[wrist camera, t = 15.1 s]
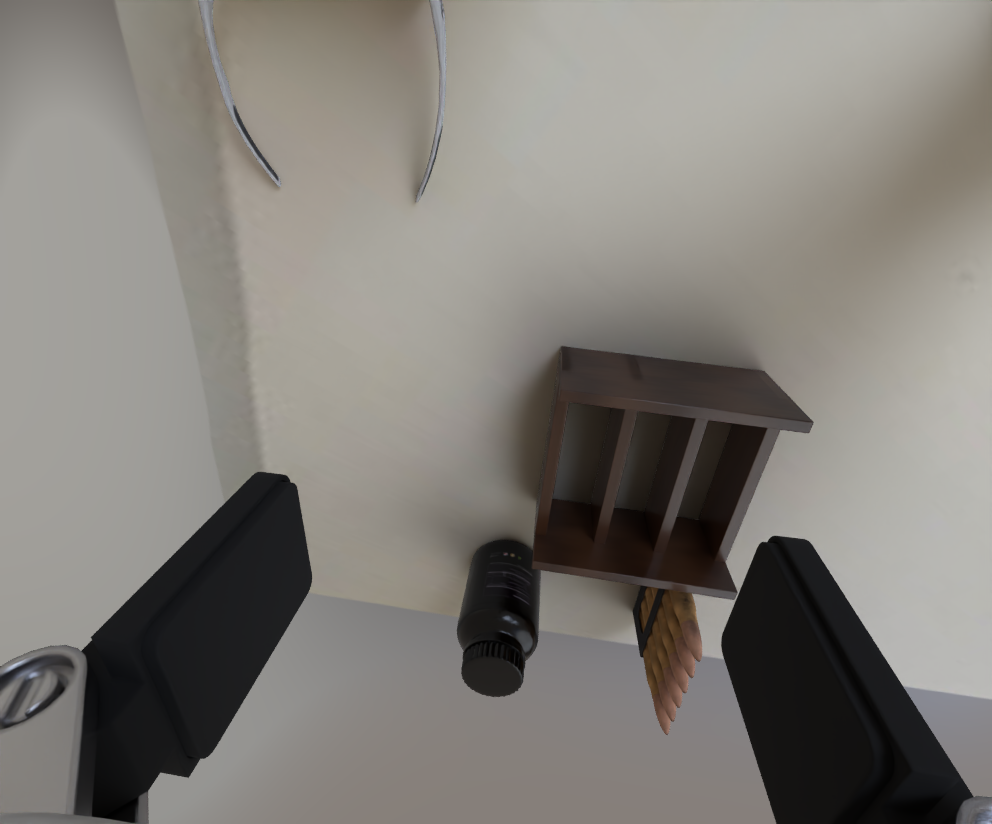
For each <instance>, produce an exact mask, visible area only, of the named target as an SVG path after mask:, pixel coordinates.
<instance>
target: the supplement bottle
mask: <svg viewBox="0 0 992 824" xmlns="http://www.w3.org/2000/svg"><path fill="white" fill-rule="evenodd" d="M532 556H533V552H532V551H531V550H530V549H529V548H527V547H526V546H524V545H523V544H521V543H518V542H515V541H511V540H496V541H492V542H489V543H487V544H485V545H483V546H482V547H480V548H479V549H478V550H477V551H476V553H475V554H474V556H473V559H472V562H471V566H470V570H469V575H468V579H467V584H466V589H465V593H464V598H463V602H462V607H461V612H460V616H459V621H458V627H457V636H458V640H459V643H460V645H461V647H462V649H463V651H464V652H463V664H462V673H461V674H462V677H463V680H464V682H465V683H466V684H467V686H468V687H470V688H471V689H472V690H474V691H476V692H478V693H480V694H482V695H486V696H492V697H500V696H506V695H510V694H512V693H514V692H515V691H518V689H519V688H520V687H521V685H522V683H523V677H524V668H525V661H526V660H527V659H528V658H529V657H530V656H531V655H532V654H533V652H534V651H535V649H536V646H537V643H538V633H539V606H540V580H541V570H538V569H532Z"/></svg>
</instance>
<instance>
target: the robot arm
mask: <svg viewBox="0 0 992 824" xmlns="http://www.w3.org/2000/svg"><path fill="white" fill-rule="evenodd" d="M311 583H312V572H311V566H310V560H309V555H308V549H307V543H306V537H305V531H304V525H303V519H302V514H301V508H300V502H299V496H298V490H297V486H296V485H295V484H294V483H291V482H290V479H289V478H288V476H286V475H282V474H274V473H266V472H257V473H255V474H254V475H253V476H252V477H251V478H250V479H249V480H248V481H247V482H246V483H245V484H244V485H243V486H242V487H241V488H240V489H239V490H238V491H237V492H236V493H235V494H234V495H233V496H232V497H231V498H230V499H229V500H228V501H227V502H226V503H225V504H224V505H223V506H222V507H221V508H220V509H219V510H218V511H217V512H216V513H215V514H214V515H213V516H212V517H211V518H210V519H209V520H208V521H207V522H206V523H205V524H204V525H203V526H202V527H201V528H200V529H199V530H198V531H197V532H196V533H195V534H194V535H193V536H192V537H191V538H190V539H189V540H188V541H187V542H186V543H185V544H184V545H183V546H182V547H181V548H180V549H179V550H178V551H177V552H176V553H175V554H174V555H173V556H172V557H171V558H170V559H169V560H168V561H167V562H166V563H165V564H164V565H163V566H162V567H161V568H160V569H159V570H158V571H157V572H156V573H155V574H154V575H153V576H152V577H151V578H150V579H149V580H148V581H147V582H146V583H145V584H144V585H143V586H142V587H141V588H140V589H139V590H138V591H137V592H136V593H135V594H134V595H133V596H132V597H131V598H130V599H129V600H128V601H127V602H126V603H125V604H124V605H123V606H122V607H121V608H120V609H119V610H118V611H117V612H116V613H115V614H114V615H113V616H112V617H111V618H110V619H109V620H108V621H107V622H106V623H105V624H104V625H103V626H102V627H101V628H100V629H99V630H98V631H97V632H96V633H95V634H94V635H93V636H92V637H91V638H92V641H91V642H90V643H89V644H88V645H87V646H86V647H85V648H84V649H83V650H82V651H80V650H79V649H78V648H74V647H71V646H67V645H60V646H48V647H44V648H41V649H37V650H33V651H30V652H28V653H26V654H23V655H21V656H19V657H16V658H14V659H12V660H10V661H8V662H7V663H5V664H4V665H2V666H0V824H148V790H149V789H150V787H151V786H152V784H153V783H154V781H155V780H156V778H157V777H158V775H159V774H160V772H161V773H166V774H172V775H177V776H182V777H189V776H190V775H191V773H192V772H193V770H194V768H195V766H196V765H197V763H198V762H199V760H200V758H201V759H202V758H203V759H204V758H206V757H208V756H209V755H210V754H211V753H212V752H213V750H214V749H215V747H216V746H217V744H218V742H219V741H220V739H221V737H222V736H223V734H224V733H225V731H226V729H227V728H228V726H229V724H230V723H231V721H232V719H233V718H234V716H235V714H236V713H237V711H238V709H239V708H240V706H241V704H242V703H243V701H244V699H245V698H246V696H247V694H248V693H249V691H250V689H251V688H252V686H253V684H254V683H255V681H256V679H257V677H258V676H259V674H260V673H261V671H262V669H263V667H264V666H265V664H266V662H267V661H268V659H269V657H270V656H271V654H272V652H273V651H274V649H275V647H276V646H277V644H278V642H279V641H280V639H281V637H282V636H283V634H284V632H285V631H286V629H287V627H288V626H289V624H290V622H291V621H292V619H293V617H294V615H295V614H296V612H297V611H298V609H299V607H300V606H301V604H302V602H303V601H304V599H305V597H306V596H307V594H308V592H309V590H310V587H311ZM721 646H722V653H723V656H724V660H725V663H726V666H727V669H728V672H729V675H730V678H731V681H732V685H733V688H734V691H735V694H736V697H737V701H738V703H739V707H740V710H741V713H742V716H743V719H744V722H745V725H746V729H747V732H748V735H749V738H750V741H751V744H752V748H753V751H754V754H755V757H756V760H757V764H758V767H759V770H760V773H761V776H762V779H763V782H764V786H765V789H766V792H767V795H768V798H769V801H770V805H771V808H772V811H773V814H774V817H775V820H776V823H777V824H992V797H983V796H975V797H973V795H972V794H971V792H970V790H969V789H968V787H967V786H966V784H965V783H964V781H963V779H962V778H961V776H960V775H959V773H958V772H957V770H956V768H955V767H954V766H953V764H952V762H951V761H950V759H949V758H948V756H947V754H946V753H945V751H944V750H943V748H942V747H941V745H940V743H939V742H938V740H937V739H936V737H935V736H934V734H933V733H932V731H931V729H930V728H929V726H928V725H927V723H926V722H925V720H924V719H923V717H922V715H921V714H920V712H919V711H918V709H917V708H916V706H915V705H914V703H913V701H912V700H911V698H910V697H909V695H908V694H907V692H906V690H905V689H904V687H903V686H902V684H901V683H900V681H899V680H898V678H897V676H896V675H895V673H894V672H893V670H892V669H891V667H890V665H889V664H888V662H887V661H886V659H885V658H884V656H883V655H882V653H881V651H880V650H879V648H878V647H877V645H876V644H875V642H874V641H873V639H872V637H871V636H870V634H869V633H868V631H867V630H866V628H865V627H864V625H863V624H862V622H861V620H860V619H859V617H858V616H857V614H856V613H855V611H854V609H853V608H852V606H851V605H850V603H849V602H848V600H847V599H846V597H845V595H844V594H843V592H842V591H841V589H840V588H839V586H838V585H837V583H836V581H835V580H834V578H833V577H832V575H831V574H830V572H829V570H828V569H827V567H826V566H825V564H824V563H823V561H822V560H821V558H820V556H819V555H818V553H817V552H816V550H815V549H814V547H813V545H812V544H811V543H810V542H809V541H807V540H805V539H798V538H790V537H781V536H772V537H771V538H770V539H769V540H768V542H761V543H760V544H759V546H758V548H757V550H756V553H755V555H754V558H753V560H752V563H751V565H750V567H749V570H748V572H747V575H746V577H745V580H744V582H743V585H742V587H741V590H740V592H739V595H738V597H737V600H736V602H735V604H734V607H733V609H732V612H731V614H730V617H729V619H728V622H727V624H726V627H725V629H724V632H723V635H722V641H721Z"/></svg>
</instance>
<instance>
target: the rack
mask: <svg viewBox="0 0 992 824" xmlns="http://www.w3.org/2000/svg"><path fill="white" fill-rule="evenodd" d="M569 402H571V403H579V404H587V405H594V406H602V407H610V408H612V409H611V413H610V418H609V422H608V427H607V431H606V436H605V440H604V445H603V449H602V454H601V458H600V463H599V467H598V472H597V476H596V481H595V485H594V490H593V495H592V499H591V504H587V503H580V502H573V501H566V500H559V499H552V497H553V492H554V486H555V480H556V474H557V468H558V463H559V457H560V451H561V445H562V440H563V434H564V428H565V422H566V417H567V411H568V405H569ZM638 411H641V412H648V413H656V414H664V415H671V416H672V417H671V420H670V424H669V427H668V431H667V434H666V438H665V441H664V444H663V448H662V451H661V455H660V458H659V462H658V465H657V469H656V472H655V476H654V479H653V483H652V486H651V489H650V493H649V496H648V500H647V503H646V507H645V510H644V512H642V511H635V510H629V509H622V508H615V507H614V505H615V501H616V497H617V493H618V489H619V485H620V481H621V477H622V473H623V469H624V465H625V461H626V457H627V453H628V449H629V445H630V441H631V437H632V433H633V429H634V425H635V422H636V418H637V414H638ZM708 420H710V421H718V422H725V423H733V425H732V428H731V431H730V433H729V436H728V439H727V442H726V445H725V447H724V450H723V453H722V456H721V458H720V461H719V464H718V467H717V470H716V472H715V475H714V478H713V481H712V484H711V486H710V489H709V492H708V495H707V497H706V500H705V503H704V506H703V509H702V511H701V514H700V517H699V520H698V519H691V518H684V517H677V514H678V511H679V508H680V505H681V502H682V499H683V496H684V493H685V490H686V487H687V484H688V481H689V478H690V475H691V472H692V469H693V466H694V463H695V460H696V456H697V453H698V450H699V447H700V444H701V441H702V438H703V435H704V432H705V429H706V426H707V423H708ZM812 425H813V421H812V420H811V419H810V418H809V417H808V416H807V415H806V414H805V413H804V412H803V411H802V410H801V409H800V408H799V407H798V406H797V404H796V403H795V402H794V401H793V400H792V399H791V398H790V397H789V396H788V395H787V394H786V393H785V392H784V391H783V390H782V389H781V388H780V387H779V386H778V385H777V384H776V383H775V382H774V381H773V380H772V379H771V378H770V377H769V376H768V374H767V373H766V372H765V371H759V370H751V369H743V368H735V367H726V366H718V365H710V364H702V363H694V362H685V361H677V360H669V359H661V358H653V357H644V356H636V355H629V354H620V353H612V352H603V351H595V350H587V349H579V348H571V347H563V346H561V349H560V356H559V362H558V368H557V375H556V381H555V388H554V394H553V401H552V407H551V414H550V420H549V426H548V433H547V439H546V446H545V452H544V459H543V465H542V472H541V478H540V484H539V491H538V497H537V504H536V517H535V530H534V543H533V556H532V569H538V570H544V571H551V572H557V573H564V574H570V575H577V576H583V577H589V578H596V579H602V580H609V581H615V582H622V583H628V584H635V585H641V586H648V587H654V588H661V589H667V590H673V591H680V592H686V593H693V594H699V595H706V596H712V597H719V598H725V599H732V600H735V597H736V595H737V590H736V587H735V585H734V582H733V580H732V578H731V575H730V573H729V570H728V568H727V565H726V563H725V562H726V560H727V557H728V555H729V552H730V550H731V548H732V545H733V543H734V540H735V538H736V536H737V533H738V531H739V528H740V526H741V524H742V521H743V519H744V516H745V514H746V511H747V509H748V507H749V504H750V502H751V499H752V497H753V495H754V492H755V490H756V487H757V485H758V482H759V480H760V478H761V475H762V473H763V470H764V468H765V466H766V463H767V461H768V458H769V456H770V453H771V451H772V449H773V446H774V444H775V441H776V439H777V437H778V434H779V432H780V430H787V431H795V432H802V433H809V432H810V430H811V427H812Z"/></svg>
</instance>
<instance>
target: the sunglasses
mask: <svg viewBox="0 0 992 824" xmlns="http://www.w3.org/2000/svg"><path fill="white" fill-rule="evenodd" d="M213 1H214V0H198V2H199V8H200V13H201V18H202V23H203V28H204V32H205V36H206V40H207V44H208V48H209V52H210V56H211V59H212V63H213V67H214V70H215V73H216V76H217V79H218V83H219V86H220V89H221V92H222V95H223V98H224V102H225V105H226V107H227V109H228V112H229V114H230V116H231V118H232V120H233V122H234V124H235V126H236V127H237V129H238V131H239V133H240V134H241V136H242V138H243V139H244V141H245V143H246V144H247V146H248V147H249V149H250V150H251V152H252V153H253V155H254V156H255V157H256V159H257V160H258V162H259V163H260V165H261V166H262V167H263V168H264V170H265V171H266V172H267V173H268V175H269V176H270V177H271V179H272V180H273V181H274V182H275V183H276V184H277V186H279V187H280V186H281V181H280V178H279V177H278V176H277V174H276V173H275V172H274V170H273V169H272V168H271V167H270V165H269V164H268V162H267V161H266V160H265V158H264V157H263V156H262V154H261V153H260V151H259V150H258V148H257V147H256V145H255V144H254V142H253V140H252V139H251V137H250V135H249V134H248V132H247V130H246V128H245V126H244V124H243V122H242V120H241V118H240V116H239V114H238V112H237V109H236V106H235V103H234V101H233V98H232V95H231V91H230V87H229V84H228V81H227V78H226V75H225V73H224V70H223V67H222V64H221V61H220V58H219V54H218V50H217V45H216V41H215V34H214V27H213ZM429 2H430V6H431V11H432V17H433V22H434V28H435V33H436V40H437V50H438V60H439V70H440V85H439V109H438V117H437V124H436V131H435V136H434V141H433V146H432V150H431V155H430V159H429V162H428V165H427V169H426V172H425V175H424V178H423V180H422V183H421V186H420V188H419V190H418V193H417V195H416V201H415V202H418V201H419V199H420V197H421V196H422V194H423V191H424V189H425V187H426V184H427V182H428V179H429V177H430V174H431V171H432V168H433V165H434V162H435V159H436V154H437V150H438V146H439V141H440V137H441V132H442V127H443V126H442V125H443V118H444V107H445V90H446V30H445V14H444V8H443V2H442V0H429Z"/></svg>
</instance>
